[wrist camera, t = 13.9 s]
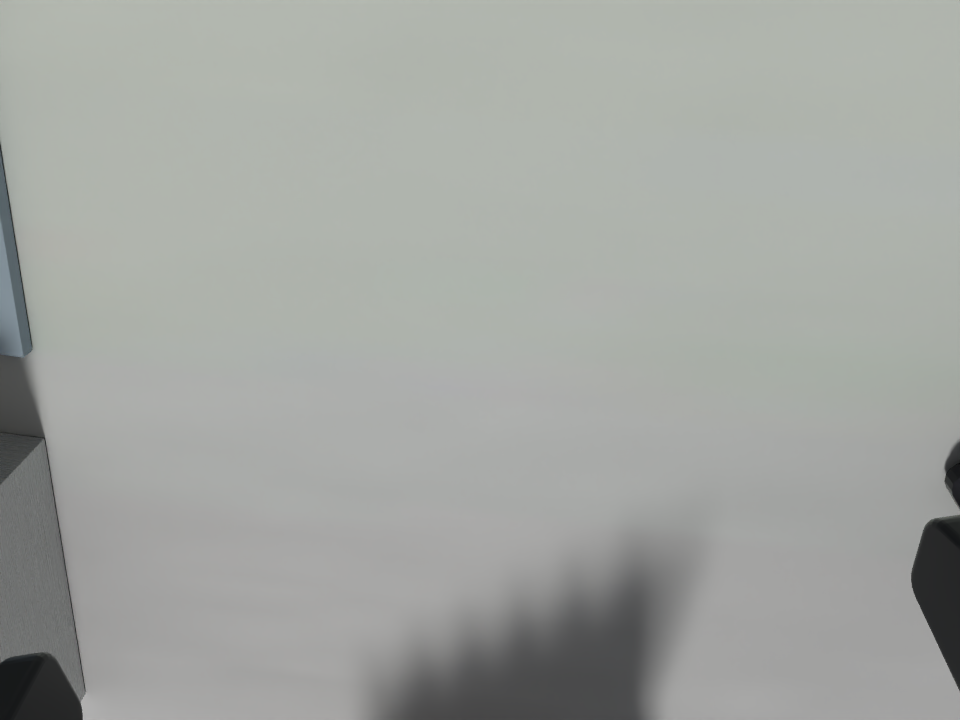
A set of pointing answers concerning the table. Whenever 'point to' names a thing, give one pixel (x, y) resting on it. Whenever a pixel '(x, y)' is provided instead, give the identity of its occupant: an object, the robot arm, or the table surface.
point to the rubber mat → (10, 286)
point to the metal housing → (33, 561)
